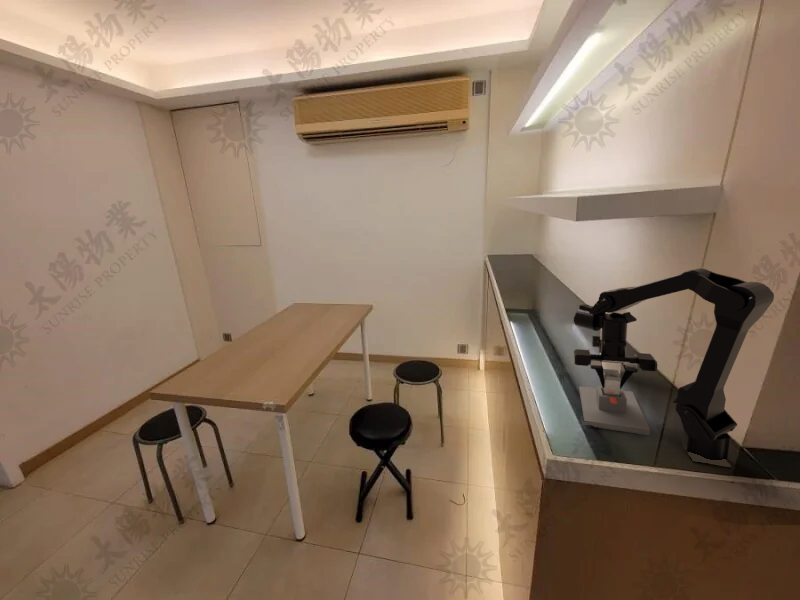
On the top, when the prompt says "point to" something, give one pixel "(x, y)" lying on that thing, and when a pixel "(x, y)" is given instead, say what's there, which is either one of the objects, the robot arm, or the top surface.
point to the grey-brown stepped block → (611, 382)
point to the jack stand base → (612, 411)
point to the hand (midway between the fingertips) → (611, 388)
